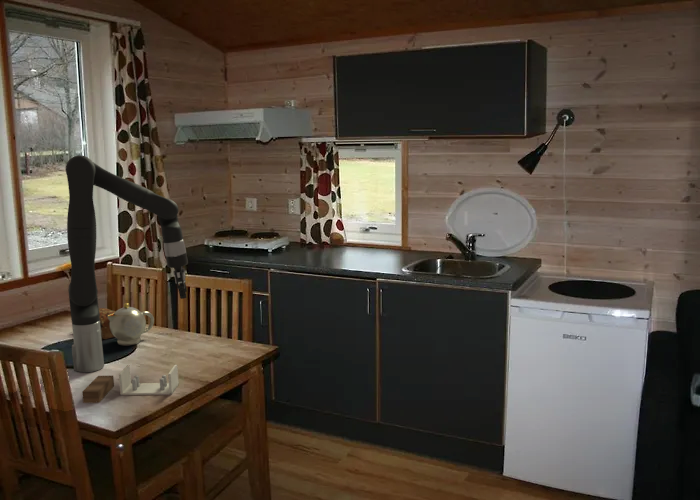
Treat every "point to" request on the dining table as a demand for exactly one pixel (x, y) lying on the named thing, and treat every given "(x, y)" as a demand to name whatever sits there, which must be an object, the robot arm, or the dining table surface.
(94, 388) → the brown rectangular block
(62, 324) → the dining table surface
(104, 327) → the bread
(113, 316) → the teapot
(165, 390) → the shelf frame
